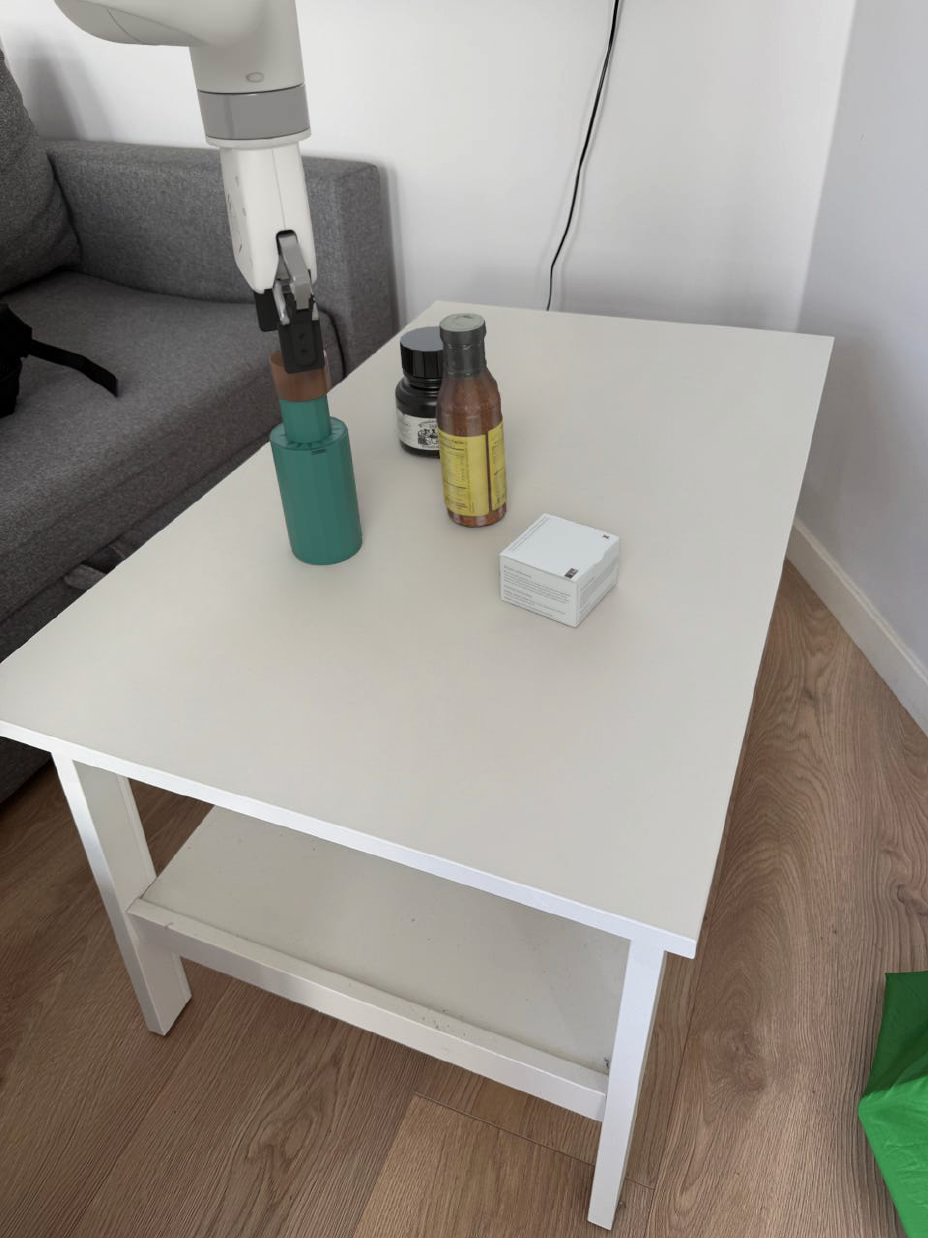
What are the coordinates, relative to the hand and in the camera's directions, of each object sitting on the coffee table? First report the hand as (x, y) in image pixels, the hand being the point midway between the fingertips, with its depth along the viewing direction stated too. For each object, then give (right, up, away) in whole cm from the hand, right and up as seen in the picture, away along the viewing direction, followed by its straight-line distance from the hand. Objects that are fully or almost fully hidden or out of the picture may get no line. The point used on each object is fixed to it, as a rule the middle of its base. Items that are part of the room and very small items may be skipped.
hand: (291, 348), depth 76 cm
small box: (+23, -20, +6) cm, 31 cm away
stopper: (+1, -5, +4) cm, 6 cm away
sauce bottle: (+15, -12, +16) cm, 25 cm away
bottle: (+1, -15, +13) cm, 20 cm away
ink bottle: (+11, -2, +28) cm, 31 cm away
